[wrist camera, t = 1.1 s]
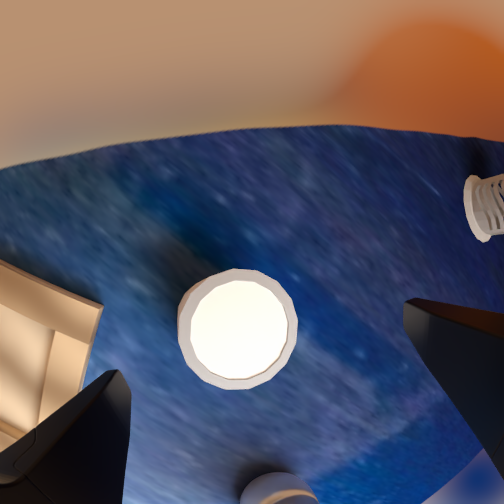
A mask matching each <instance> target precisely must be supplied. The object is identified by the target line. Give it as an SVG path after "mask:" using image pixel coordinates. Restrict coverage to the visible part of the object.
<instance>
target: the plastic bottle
mask: <svg viewBox="0 0 504 504" xmlns="http://www.w3.org/2000/svg"><path fill="white" fill-rule="evenodd" d="M240 504H319V502H318V500H317V498H316V496H315V494H314V493H313V491H312V490H311V488H310V487H309V485H308V484H307V483H306V482H304V481H303V480H301V479H300V478H298V477H297V476H295V475H293V474H290V473H284V472H273V473H267V474H264V475H261V476H259V477H257V478H256V479H254V480H252V481H251V482H250V483H249V484H248V485H247V486H246V488H245V489H244V491H243V493H242V495H241V498H240Z"/></svg>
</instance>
